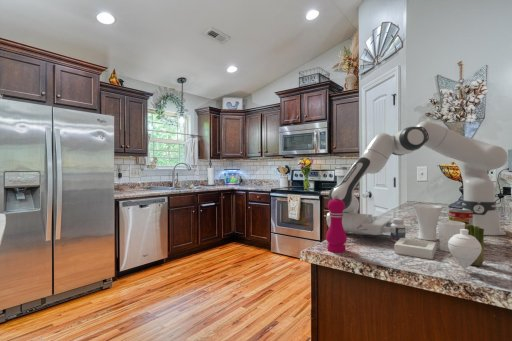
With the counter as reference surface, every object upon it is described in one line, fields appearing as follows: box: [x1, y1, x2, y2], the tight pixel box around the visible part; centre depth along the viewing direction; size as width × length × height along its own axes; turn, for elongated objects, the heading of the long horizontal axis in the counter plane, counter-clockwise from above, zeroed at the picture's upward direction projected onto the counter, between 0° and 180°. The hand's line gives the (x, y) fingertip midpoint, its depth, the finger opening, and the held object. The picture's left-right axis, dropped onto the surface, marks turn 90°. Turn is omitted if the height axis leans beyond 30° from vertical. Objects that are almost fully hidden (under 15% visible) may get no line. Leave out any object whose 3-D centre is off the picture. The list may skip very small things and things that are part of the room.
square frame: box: [393, 237, 437, 260], centre depth 99 cm, size 11×11×3 cm
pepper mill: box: [325, 194, 348, 254], centre depth 102 cm, size 7×7×20 cm
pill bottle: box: [390, 217, 406, 243], centre depth 114 cm, size 5×5×9 cm
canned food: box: [448, 208, 473, 229], centre depth 115 cm, size 8×8×12 cm
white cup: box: [437, 219, 465, 253], centre depth 101 cm, size 8×8×10 cm
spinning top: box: [448, 229, 482, 273], centre depth 80 cm, size 8×8×12 cm
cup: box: [412, 203, 443, 241], centre depth 118 cm, size 10×10×14 cm
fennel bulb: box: [466, 225, 485, 267], centre depth 86 cm, size 6×5×12 cm
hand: (398, 228), depth 114 cm, fingers open, 8 cm apart
